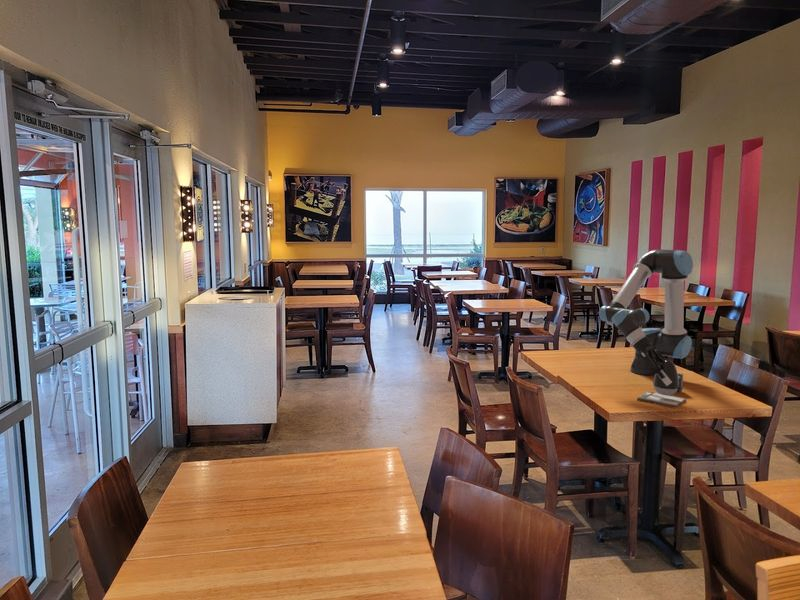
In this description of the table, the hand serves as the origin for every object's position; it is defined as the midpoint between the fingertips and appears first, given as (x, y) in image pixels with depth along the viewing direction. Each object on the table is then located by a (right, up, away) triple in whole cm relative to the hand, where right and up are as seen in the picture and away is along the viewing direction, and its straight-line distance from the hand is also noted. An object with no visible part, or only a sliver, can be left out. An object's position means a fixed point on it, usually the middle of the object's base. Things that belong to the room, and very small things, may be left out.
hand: (673, 381), depth 261 cm
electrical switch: (+8, -7, +20) cm, 22 cm away
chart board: (-3, -9, +4) cm, 10 cm away
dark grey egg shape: (-3, -6, +3) cm, 7 cm away
